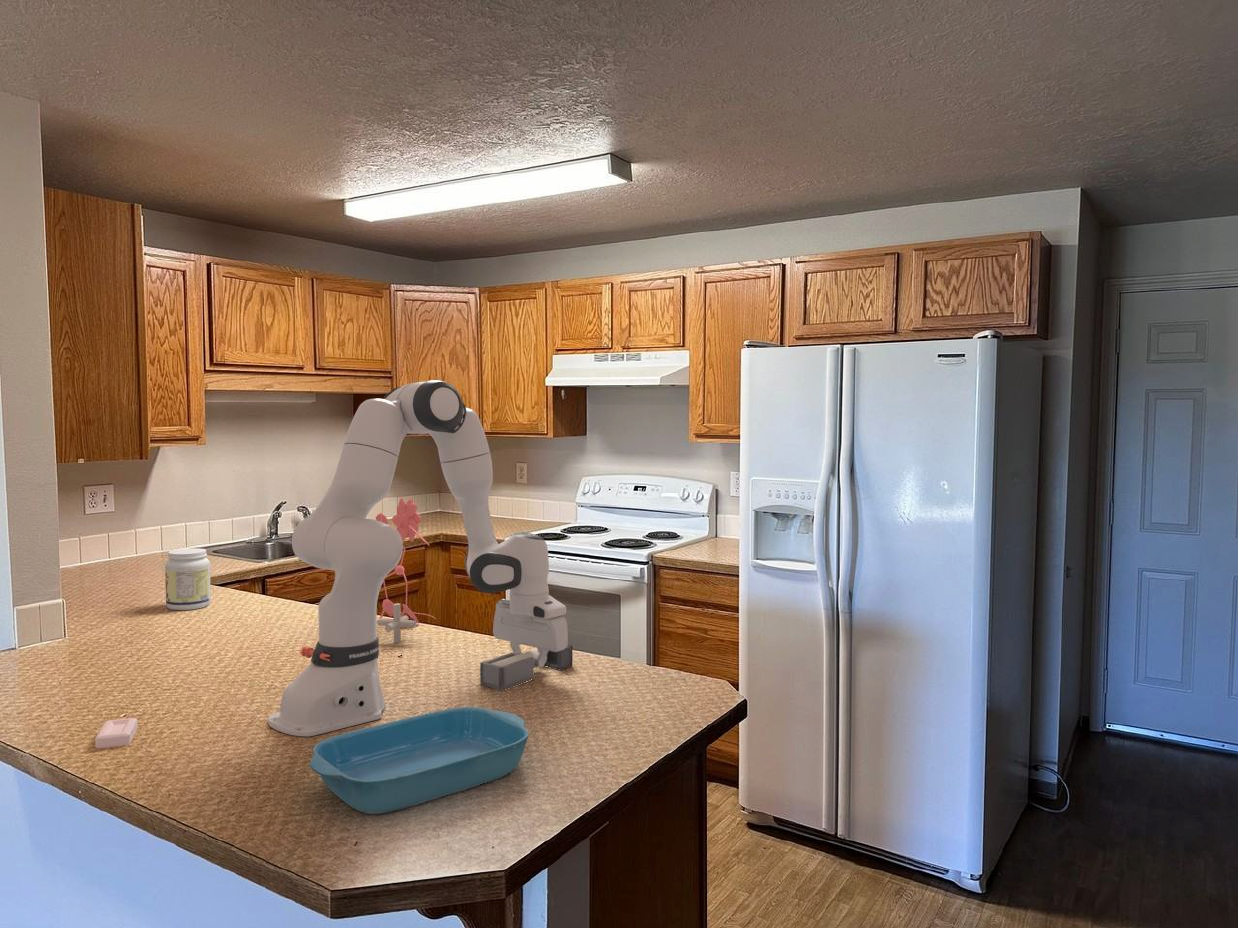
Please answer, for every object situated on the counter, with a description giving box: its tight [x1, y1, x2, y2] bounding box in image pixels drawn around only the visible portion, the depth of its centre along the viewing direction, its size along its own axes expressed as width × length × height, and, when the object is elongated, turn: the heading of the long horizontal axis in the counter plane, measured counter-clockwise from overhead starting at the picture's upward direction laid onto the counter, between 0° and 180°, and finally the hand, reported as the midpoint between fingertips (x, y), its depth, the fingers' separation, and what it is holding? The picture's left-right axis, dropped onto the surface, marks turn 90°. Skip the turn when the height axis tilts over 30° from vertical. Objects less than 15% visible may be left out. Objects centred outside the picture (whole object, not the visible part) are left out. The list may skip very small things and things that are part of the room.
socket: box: [543, 644, 574, 671], centre depth 206 cm, size 4×8×5 cm, turn 53°
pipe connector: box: [377, 602, 418, 644], centre depth 225 cm, size 10×10×10 cm
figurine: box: [375, 497, 437, 631], centre depth 247 cm, size 15×26×35 cm, turn 47°
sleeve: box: [479, 652, 535, 692], centre depth 193 cm, size 10×7×5 cm, turn 143°
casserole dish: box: [309, 706, 530, 815], centre depth 143 cm, size 37×22×7 cm, turn 131°
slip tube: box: [491, 648, 547, 669], centre depth 196 cm, size 15×4×4 cm, turn 143°
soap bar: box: [94, 717, 139, 749], centre depth 160 cm, size 5×9×2 cm, turn 20°
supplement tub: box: [164, 547, 212, 611], centre depth 262 cm, size 12×12×17 cm
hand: (529, 663), depth 199 cm, fingers open, 5 cm apart
